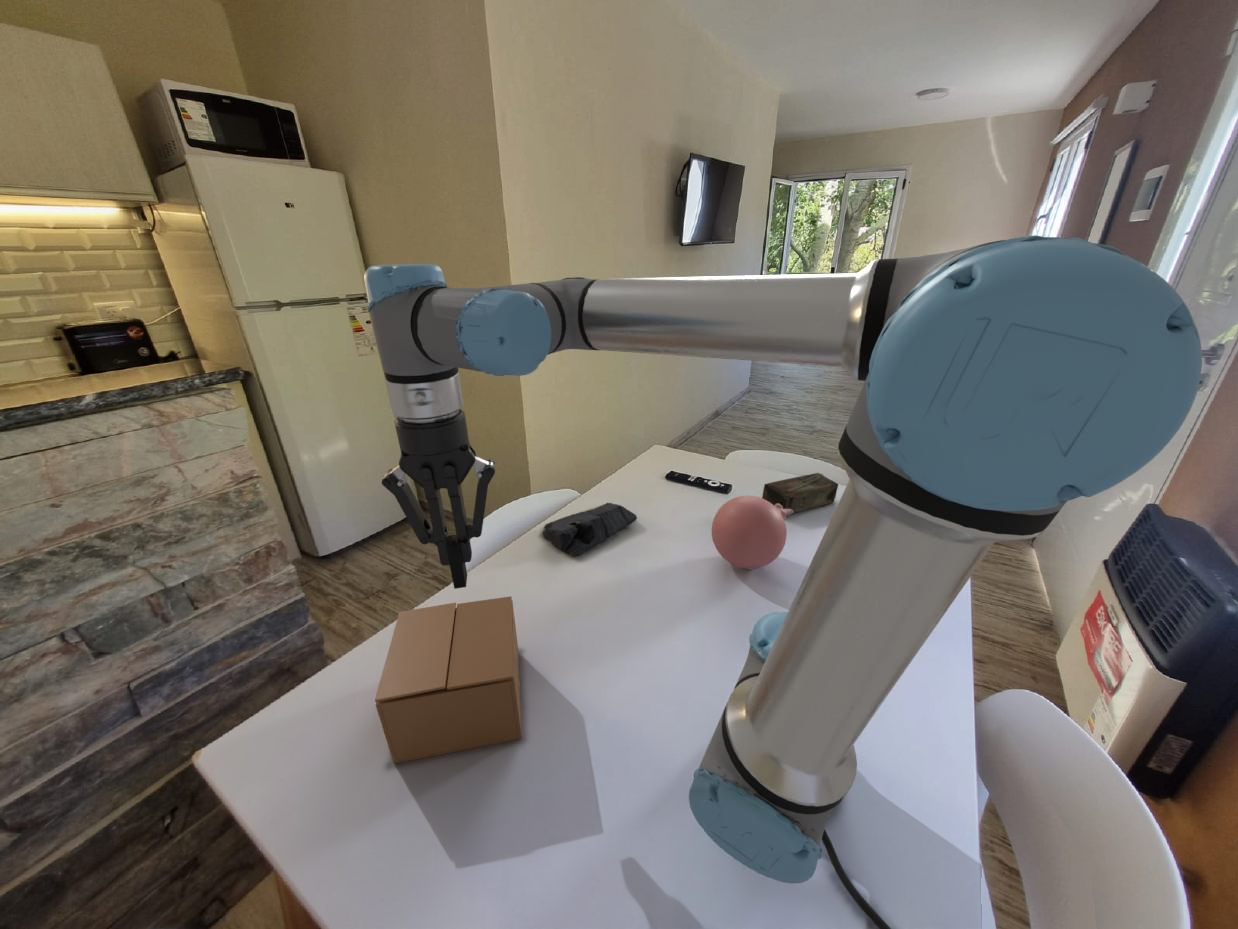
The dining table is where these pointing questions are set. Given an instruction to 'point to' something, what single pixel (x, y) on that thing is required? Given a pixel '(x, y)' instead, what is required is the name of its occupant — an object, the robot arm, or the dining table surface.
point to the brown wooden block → (801, 492)
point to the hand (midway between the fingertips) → (460, 581)
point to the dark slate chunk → (588, 527)
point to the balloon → (750, 531)
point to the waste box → (464, 690)
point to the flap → (418, 652)
